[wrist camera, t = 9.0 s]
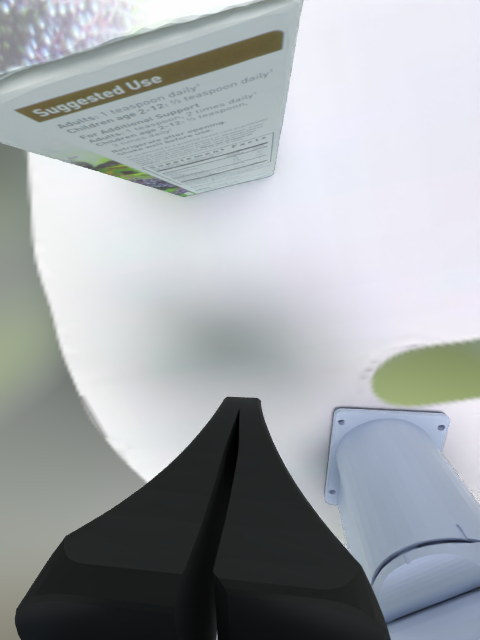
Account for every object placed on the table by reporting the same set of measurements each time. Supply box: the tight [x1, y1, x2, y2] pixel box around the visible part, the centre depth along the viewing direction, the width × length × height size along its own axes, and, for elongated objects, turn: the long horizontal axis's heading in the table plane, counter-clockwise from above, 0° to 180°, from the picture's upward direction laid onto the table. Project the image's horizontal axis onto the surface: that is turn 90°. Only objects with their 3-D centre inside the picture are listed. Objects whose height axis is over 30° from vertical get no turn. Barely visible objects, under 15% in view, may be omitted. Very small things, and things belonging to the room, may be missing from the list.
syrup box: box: [0, 0, 303, 197], centre depth 9 cm, size 6×6×14 cm
